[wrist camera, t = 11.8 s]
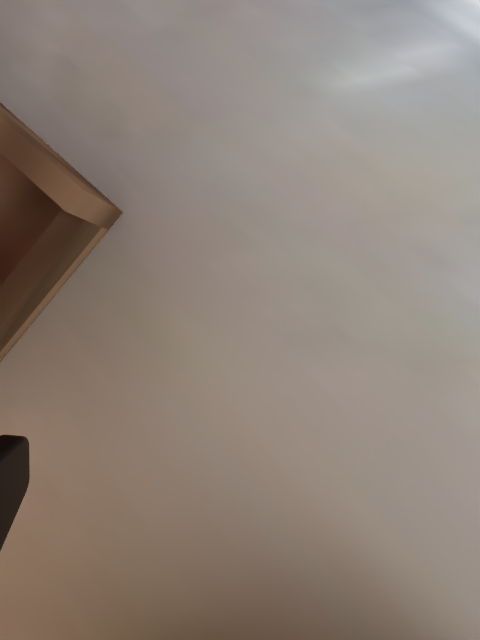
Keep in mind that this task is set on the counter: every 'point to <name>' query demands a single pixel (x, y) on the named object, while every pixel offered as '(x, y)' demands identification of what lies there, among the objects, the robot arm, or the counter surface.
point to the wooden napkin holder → (40, 225)
